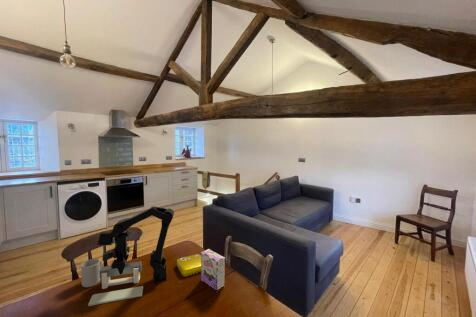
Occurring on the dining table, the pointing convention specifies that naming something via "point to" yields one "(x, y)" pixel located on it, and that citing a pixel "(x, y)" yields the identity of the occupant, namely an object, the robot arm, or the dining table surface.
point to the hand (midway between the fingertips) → (121, 271)
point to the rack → (108, 282)
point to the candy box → (212, 269)
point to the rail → (127, 270)
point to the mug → (90, 272)
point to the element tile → (189, 265)
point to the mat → (116, 295)
